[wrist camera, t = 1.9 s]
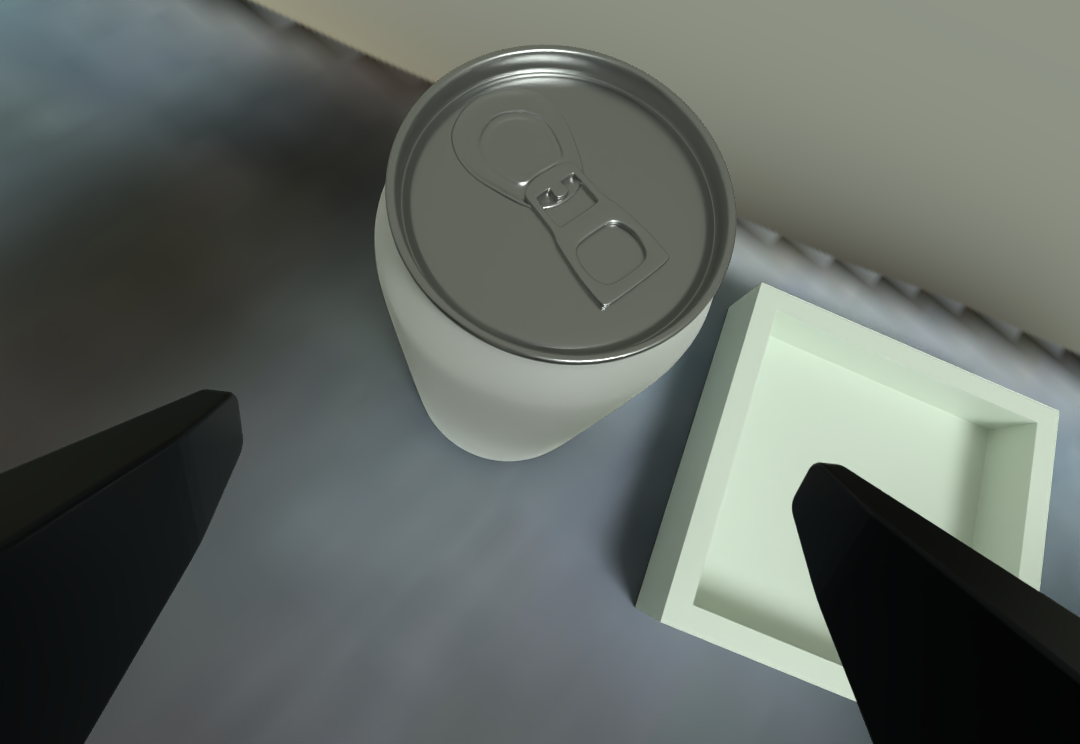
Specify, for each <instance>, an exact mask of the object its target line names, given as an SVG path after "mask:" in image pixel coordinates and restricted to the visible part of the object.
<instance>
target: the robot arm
mask: <svg viewBox="0 0 1080 744" xmlns="http://www.w3.org/2000/svg"><path fill="white" fill-rule="evenodd" d="M242 445H243V434H242V427H241V420H240V412H239V405H238V400H237V398H236V396H235V395H234V394H233V393H231V392H224V391H216V390H201V391H198V392H196V393H193V394H191V395H189V396H186V397H184V398H181V399H179V400H176V401H174V402H172V403H169V404H167V405H164V406H162V407H160V408H157V409H155V410H152V411H150V412H148V413H145V414H143V415H140V416H138V417H136V418H133V419H131V420H128V421H126V422H123V423H121V424H119V425H116V426H114V427H111V428H109V429H107V430H104V431H102V432H99V433H97V434H95V435H92V436H90V437H87V438H85V439H83V440H80V441H78V442H75V443H73V444H70V445H68V446H66V447H63V448H61V449H58V450H56V451H54V452H51V453H49V454H46V455H44V456H42V457H39V458H37V459H34V460H32V461H29V462H27V463H25V464H22V465H20V466H17V467H15V468H13V469H10V470H8V471H5V472H3V473H1V474H0V744H84V743H85V741H86V739H87V738H88V736H89V734H90V733H91V731H92V729H93V727H94V726H95V724H96V722H97V721H98V719H99V717H100V715H101V714H102V712H103V710H104V709H105V707H106V705H107V703H108V702H109V700H110V698H111V697H112V695H113V693H114V691H115V690H116V688H117V686H118V685H119V683H120V681H121V680H122V678H123V676H124V674H125V673H126V671H127V669H128V668H129V666H130V664H131V662H132V661H133V659H134V657H135V656H136V654H137V652H138V650H139V649H140V647H141V645H142V644H143V642H144V640H145V638H146V637H147V635H148V633H149V632H150V630H151V628H152V626H153V625H154V623H155V621H156V620H157V618H158V616H159V614H160V613H161V611H162V609H163V608H164V606H165V604H166V603H167V601H168V599H169V597H170V596H171V594H172V592H173V591H174V589H175V587H176V585H177V584H178V582H179V580H180V579H181V577H182V575H183V573H184V572H185V570H186V568H187V567H188V565H189V563H190V561H191V560H192V558H193V556H194V554H195V552H196V551H197V549H198V547H199V545H200V543H201V541H202V539H203V537H204V535H205V533H206V531H207V529H208V526H209V524H210V522H211V519H212V517H213V515H214V513H215V510H216V508H217V506H218V503H219V501H220V499H221V497H222V494H223V492H224V490H225V487H226V485H227V483H228V481H229V478H230V476H231V474H232V471H233V469H234V467H235V465H236V462H237V460H238V458H239V455H240V453H241V449H242ZM792 514H793V518H794V522H795V525H796V529H797V532H798V536H799V539H800V543H801V547H802V550H803V554H804V557H805V561H806V564H807V568H808V571H809V575H810V579H811V582H812V586H813V589H814V592H815V595H816V598H817V601H818V604H819V607H820V610H821V612H822V615H823V618H824V620H825V623H826V625H827V628H828V630H829V633H830V635H831V638H832V640H833V643H834V646H835V648H836V651H837V653H838V656H839V658H840V661H841V663H842V666H843V669H844V671H845V674H846V676H847V679H848V681H849V684H850V686H851V689H852V691H853V694H854V697H855V699H856V702H857V704H858V707H859V709H860V712H861V714H862V717H863V720H864V722H865V725H866V727H867V730H868V732H869V735H870V737H871V740H872V742H873V744H1080V617H1078V616H1077V615H1075V614H1074V613H1072V612H1070V611H1069V610H1067V609H1066V608H1064V607H1063V606H1061V605H1060V604H1058V603H1056V602H1055V601H1053V600H1052V599H1050V598H1049V597H1047V596H1046V595H1044V594H1042V593H1041V592H1039V591H1038V590H1036V589H1035V588H1033V587H1031V586H1030V585H1028V584H1027V583H1025V582H1024V581H1022V580H1021V579H1019V578H1017V577H1016V576H1014V575H1013V574H1011V573H1010V572H1008V571H1007V570H1005V569H1003V568H1002V567H1000V566H999V565H997V564H996V563H994V562H992V561H991V560H989V559H988V558H986V557H985V556H983V555H982V554H980V553H978V552H977V551H975V550H974V549H972V548H971V547H969V546H968V545H966V544H964V543H963V542H961V541H960V540H958V539H957V538H955V537H953V536H952V535H950V534H949V533H947V532H946V531H944V530H943V529H941V528H939V527H938V526H936V525H935V524H933V523H932V522H930V521H929V520H927V519H925V518H924V517H922V516H921V515H919V514H918V513H916V512H914V511H913V510H911V509H910V508H908V507H907V506H905V505H904V504H902V503H900V502H899V501H897V500H896V499H894V498H893V497H891V496H890V495H888V494H886V493H885V492H883V491H882V490H880V489H879V488H877V487H875V486H874V485H872V484H871V483H869V482H868V481H866V480H865V479H863V478H861V477H860V476H858V475H857V474H855V473H854V472H852V471H851V470H849V469H847V468H846V467H844V466H842V465H839V464H832V463H823V462H818V463H815V464H813V465H812V466H811V467H810V468H809V470H808V472H807V474H806V475H805V477H804V479H803V481H802V483H801V485H800V486H799V488H798V490H797V492H796V494H795V496H794V498H793V501H792Z"/></svg>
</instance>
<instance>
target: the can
mask: <svg viewBox="0 0 1080 744" xmlns="http://www.w3.org/2000/svg"><path fill="white" fill-rule="evenodd" d="M735 236H736V204H735V196H734V191H733V186H732V182H731V178H730V175H729V172H728V169H727V167H726V164H725V161H724V159H723V156H722V155H721V152H720V150H719V148H718V146H717V145H716V143H715V141H714V139H713V138H712V136H711V134H710V133H709V131H708V130H707V128H706V127H705V126H704V124H703V123H702V122H701V120H700V119H699V118H698V117H697V115H696V114H695V113H694V112H693V111H692V110H691V109H690V108H689V106H688V105H687V104H686V103H685V102H684V101H682V99H680V98H679V97H678V96H677V95H676V94H675V93H674V92H672V91H671V90H670V89H669V88H668V87H666V86H665V85H664V84H662V83H661V82H659V81H658V80H657V79H655V78H654V77H652V76H650V75H649V74H647V73H645V72H644V71H642V70H640V69H638V68H636V67H634V66H632V65H630V64H628V63H626V62H624V61H621V60H619V59H616V58H614V57H611V56H608V55H605V54H602V53H599V52H595V51H591V50H586V49H582V48H576V47H569V46H559V45H529V46H520V47H513V48H508V49H503V50H499V51H495V52H492V53H489V54H486V55H483V56H480V57H478V58H475V59H473V60H471V61H468V62H466V63H465V64H463V65H461V66H459V67H457V68H456V69H454V70H452V71H450V72H449V73H447V74H446V75H445V76H444V77H442V78H441V79H439V80H438V81H437V82H435V83H434V84H433V85H432V86H431V87H430V88H429V89H428V90H427V91H426V92H425V93H424V94H423V95H422V96H421V97H420V98H419V99H418V101H417V102H416V103H415V104H414V106H413V107H412V108H411V110H410V111H409V113H408V114H407V116H406V117H405V119H404V121H403V122H402V124H401V126H400V128H399V130H398V132H397V135H396V137H395V139H394V142H393V145H392V148H391V151H390V155H389V159H388V164H387V170H386V180H385V186H384V188H383V191H382V194H381V197H380V201H379V205H378V209H377V214H376V221H375V256H376V265H377V271H378V276H379V281H380V284H381V288H382V292H383V295H384V299H385V302H386V305H387V308H388V311H389V314H390V317H391V320H392V323H393V326H394V328H395V331H396V334H397V337H398V339H399V342H400V345H401V348H402V350H403V353H404V356H405V358H406V361H407V364H408V367H409V369H410V372H411V375H412V377H413V380H414V382H415V385H416V388H417V390H418V393H419V395H420V398H421V400H422V403H423V405H424V407H425V409H426V411H427V413H428V415H429V416H430V418H431V420H432V421H433V423H434V424H435V425H436V427H437V428H438V429H439V430H440V431H441V432H442V433H443V434H444V435H445V436H446V437H447V438H448V439H449V440H450V441H452V442H453V443H454V444H456V445H457V446H459V447H460V448H462V449H464V450H465V451H467V452H469V453H472V454H474V455H477V456H479V457H483V458H486V459H491V460H497V461H520V460H526V459H531V458H535V457H538V456H541V455H543V454H545V453H548V452H550V451H552V450H554V449H555V448H557V447H559V446H561V445H562V444H564V443H565V442H567V441H569V440H570V439H572V438H573V437H575V436H576V435H578V434H579V433H581V432H582V431H584V430H586V429H587V428H589V427H590V426H592V425H593V424H595V423H596V422H598V421H599V420H601V419H602V418H604V417H605V416H607V415H608V414H610V413H611V412H613V411H614V410H616V409H617V408H618V407H620V406H621V405H623V404H624V403H626V402H627V401H629V400H630V399H632V398H633V397H634V396H636V395H637V394H639V393H640V392H642V391H643V390H644V389H646V388H647V387H648V386H650V385H651V384H652V383H654V382H655V381H656V380H657V379H659V378H660V377H661V376H662V375H663V374H665V373H666V372H667V371H668V370H669V369H670V368H671V367H672V366H673V365H674V364H675V363H676V362H677V361H678V360H679V358H680V357H681V356H682V355H683V354H684V353H685V351H686V350H687V349H688V348H689V346H690V345H691V344H692V342H693V341H694V339H695V338H696V336H697V334H698V333H699V331H700V329H701V327H702V325H703V323H704V321H705V319H706V316H707V314H708V311H709V309H710V306H711V302H712V299H713V296H714V295H715V293H716V292H717V290H718V288H719V286H720V284H721V283H722V281H723V278H724V276H725V274H726V271H727V269H728V266H729V263H730V260H731V257H732V253H733V248H734V243H735Z"/></svg>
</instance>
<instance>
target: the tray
mask: <svg viewBox="0 0 1080 744" xmlns="http://www.w3.org/2000/svg"><path fill="white" fill-rule="evenodd" d="M1058 419H1059V411H1058V410H1056V409H1054V408H1051V407H1049V406H1047V405H1044V404H1042V403H1040V402H1037V401H1035V400H1033V399H1030V398H1028V397H1026V396H1024V395H1021V394H1019V393H1017V392H1014V391H1012V390H1010V389H1007V388H1005V387H1003V386H1000V385H998V384H996V383H994V382H991V381H989V380H987V379H984V378H982V377H980V376H977V375H975V374H973V373H970V372H968V371H966V370H963V369H961V368H959V367H957V366H954V365H952V364H950V363H947V362H945V361H943V360H940V359H938V358H936V357H933V356H931V355H929V354H927V353H924V352H922V351H920V350H917V349H915V348H913V347H910V346H908V345H906V344H903V343H901V342H899V341H897V340H894V339H892V338H890V337H887V336H885V335H883V334H880V333H878V332H876V331H873V330H871V329H869V328H866V327H864V326H862V325H860V324H857V323H855V322H853V321H850V320H848V319H846V318H843V317H841V316H839V315H836V314H834V313H832V312H830V311H827V310H825V309H823V308H820V307H818V306H816V305H813V304H811V303H809V302H806V301H804V300H802V299H799V298H797V297H795V296H793V295H790V294H788V293H786V292H783V291H781V290H779V289H776V288H774V287H772V286H769V285H767V284H765V283H763V282H761V283H760V284H759V285H757V286H756V287H755V288H753V289H752V290H751V291H750V292H748V293H747V294H746V295H744V296H743V297H742V298H740V299H739V300H738V301H736V302H735V303H734V304H732V305H731V306H730V307H729V309H728V312H727V315H726V318H725V322H724V325H723V328H722V331H721V334H720V338H719V341H718V344H717V347H716V350H715V354H714V357H713V360H712V363H711V366H710V370H709V373H708V376H707V379H706V382H705V386H704V389H703V392H702V395H701V398H700V402H699V405H698V408H697V411H696V414H695V417H694V421H693V424H692V427H691V430H690V433H689V437H688V440H687V443H686V446H685V449H684V453H683V456H682V459H681V462H680V465H679V469H678V472H677V475H676V478H675V481H674V485H673V488H672V491H671V494H670V497H669V501H668V504H667V507H666V510H665V513H664V516H663V520H662V523H661V526H660V529H659V532H658V536H657V539H656V542H655V545H654V548H653V552H652V555H651V558H650V561H649V564H648V568H647V571H646V574H645V577H644V580H643V584H642V587H641V590H640V593H639V596H638V600H637V603H636V606H635V608H637V609H638V610H640V611H642V612H644V613H645V614H647V615H649V616H651V617H653V618H654V619H656V620H658V621H660V622H662V623H664V624H667V625H669V626H672V627H674V628H677V629H679V630H682V631H684V632H686V633H689V634H691V635H694V636H696V637H699V638H701V639H704V640H706V641H708V642H711V643H713V644H716V645H718V646H721V647H723V648H726V649H728V650H731V651H733V652H735V653H738V654H740V655H743V656H745V657H748V658H750V659H753V660H755V661H758V662H760V663H762V664H765V665H767V666H770V667H772V668H775V669H777V670H780V671H782V672H785V673H787V674H789V675H792V676H794V677H797V678H799V679H802V680H804V681H807V682H809V683H811V684H814V685H816V686H819V687H821V688H824V689H826V690H829V691H831V692H834V693H836V694H838V695H841V696H843V697H846V698H848V699H851V700H853V701H856V699H855V697H854V694H853V691H852V689H851V686H850V684H849V681H848V679H847V676H846V674H845V671H844V669H843V666H842V663H841V661H840V658H839V656H838V653H837V651H836V648H835V646H834V643H833V640H832V638H831V635H830V633H829V630H828V628H827V625H826V623H825V620H824V618H823V615H822V612H821V610H820V607H819V604H818V601H817V598H816V595H815V592H814V589H813V586H812V582H811V579H810V575H809V571H808V568H807V564H806V561H805V557H804V554H803V550H802V547H801V543H800V539H799V536H798V532H797V529H796V525H795V522H794V518H793V514H792V501H793V498H794V496H795V494H796V492H797V490H798V488H799V486H800V485H801V483H802V481H803V479H804V477H805V475H806V474H807V472H808V470H809V468H810V467H811V466H812V465H813V464H815V463H818V462H823V463H832V464H839V465H842V466H844V467H846V468H847V469H849V470H851V471H852V472H854V473H855V474H857V475H858V476H860V477H861V478H863V479H865V480H866V481H868V482H869V483H871V484H872V485H874V486H875V487H877V488H879V489H880V490H882V491H883V492H885V493H886V494H888V495H890V496H891V497H893V498H894V499H896V500H897V501H899V502H900V503H902V504H904V505H905V506H907V507H908V508H910V509H911V510H913V511H914V512H916V513H918V514H919V515H921V516H922V517H924V518H925V519H927V520H929V521H930V522H932V523H933V524H935V525H936V526H938V527H939V528H941V529H943V530H944V531H946V532H947V533H949V534H950V535H952V536H953V537H955V538H957V539H958V540H960V541H961V542H963V543H964V544H966V545H968V546H969V547H971V548H972V549H974V550H975V551H977V552H978V553H980V554H982V555H983V556H985V557H986V558H988V559H989V560H991V561H992V562H994V563H996V564H997V565H999V566H1000V567H1002V568H1003V569H1005V570H1007V571H1008V572H1010V573H1011V574H1013V575H1014V576H1016V577H1017V578H1019V579H1021V580H1022V581H1024V582H1025V583H1027V584H1028V585H1030V586H1031V587H1033V588H1035V589H1036V590H1038V591H1039V592H1040V583H1041V574H1042V565H1043V556H1044V547H1045V537H1046V528H1047V519H1048V510H1049V501H1050V492H1051V483H1052V474H1053V465H1054V456H1055V446H1056V437H1057V428H1058Z"/></svg>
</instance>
